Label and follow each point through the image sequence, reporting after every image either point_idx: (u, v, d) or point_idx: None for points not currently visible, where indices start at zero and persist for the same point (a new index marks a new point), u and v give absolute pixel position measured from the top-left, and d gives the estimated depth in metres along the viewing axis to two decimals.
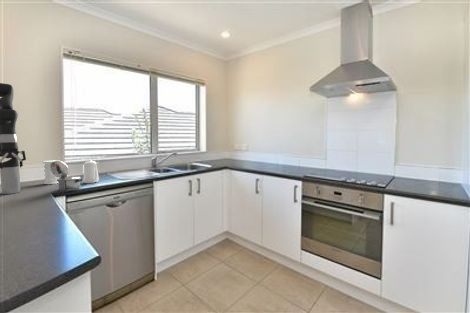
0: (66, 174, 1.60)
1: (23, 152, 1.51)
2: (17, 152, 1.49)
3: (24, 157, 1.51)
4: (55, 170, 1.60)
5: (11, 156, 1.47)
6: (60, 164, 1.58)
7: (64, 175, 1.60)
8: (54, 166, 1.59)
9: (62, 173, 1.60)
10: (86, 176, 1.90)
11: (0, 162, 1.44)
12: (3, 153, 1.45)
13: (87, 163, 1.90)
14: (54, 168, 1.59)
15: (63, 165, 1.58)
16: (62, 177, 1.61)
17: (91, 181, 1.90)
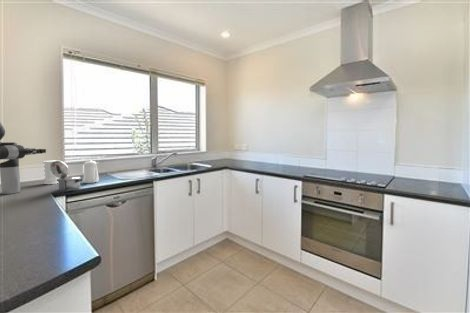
0: (66, 174, 1.60)
1: (34, 153, 1.35)
2: (29, 153, 1.35)
3: (39, 153, 1.38)
4: (55, 170, 1.60)
5: None
6: (60, 164, 1.58)
7: (64, 175, 1.60)
8: (54, 166, 1.59)
9: (62, 173, 1.60)
10: (86, 176, 1.90)
11: None
12: None
13: (87, 163, 1.90)
14: (54, 168, 1.59)
15: (63, 165, 1.58)
16: (62, 177, 1.61)
17: (91, 181, 1.90)
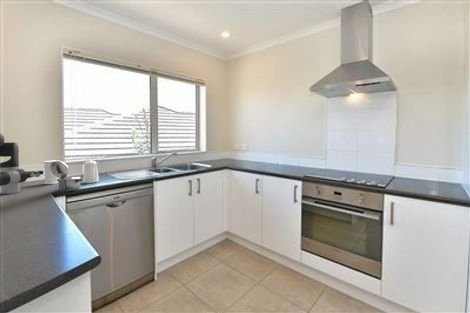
0: (66, 174, 1.60)
1: (37, 176, 1.38)
2: (33, 176, 1.37)
3: (38, 175, 1.41)
4: (55, 170, 1.60)
5: None
6: (60, 164, 1.58)
7: (64, 175, 1.60)
8: (54, 166, 1.59)
9: (62, 173, 1.60)
10: (86, 176, 1.90)
11: None
12: None
13: (87, 163, 1.90)
14: (54, 168, 1.59)
15: (63, 165, 1.58)
16: (62, 177, 1.61)
17: (91, 181, 1.90)
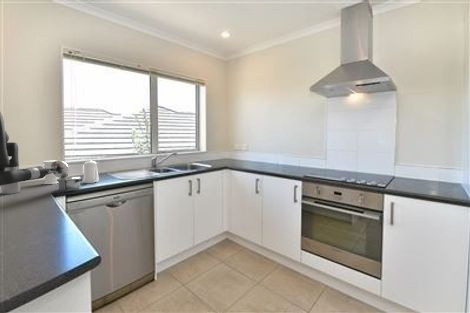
0: (66, 174, 1.60)
1: (54, 173, 1.50)
2: None
3: (55, 172, 1.52)
4: None
5: None
6: (61, 164, 1.58)
7: (64, 175, 1.61)
8: (55, 166, 1.59)
9: (62, 173, 1.60)
10: (86, 176, 1.90)
11: None
12: None
13: (87, 163, 1.90)
14: None
15: (64, 165, 1.58)
16: (62, 177, 1.61)
17: (91, 181, 1.90)
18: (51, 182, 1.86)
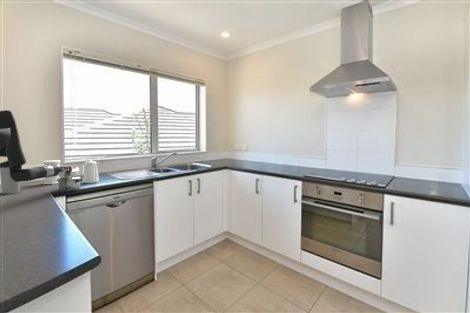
0: (71, 175, 1.64)
1: (67, 171, 1.59)
2: None
3: (67, 170, 1.62)
4: (64, 172, 1.67)
5: None
6: (74, 168, 1.70)
7: (67, 175, 1.63)
8: None
9: (68, 174, 1.65)
10: (86, 176, 1.90)
11: (64, 170, 1.64)
12: None
13: (87, 163, 1.90)
14: (65, 171, 1.68)
15: (76, 169, 1.69)
16: (64, 177, 1.63)
17: (91, 181, 1.90)
18: (51, 182, 1.86)
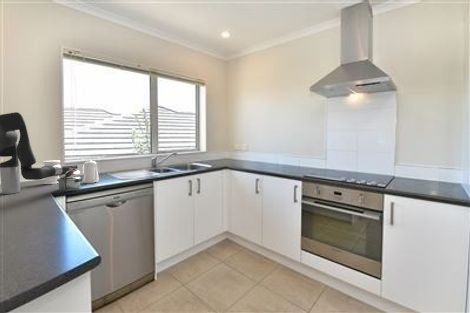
0: (71, 175, 1.64)
1: None
2: None
3: (74, 169, 1.68)
4: (65, 173, 1.68)
5: None
6: (76, 171, 1.71)
7: (68, 176, 1.64)
8: (68, 172, 1.70)
9: (68, 175, 1.65)
10: (86, 176, 1.90)
11: (71, 169, 1.70)
12: None
13: (87, 163, 1.90)
14: (66, 173, 1.69)
15: (77, 171, 1.70)
16: (64, 177, 1.63)
17: (91, 181, 1.90)
18: (51, 182, 1.86)
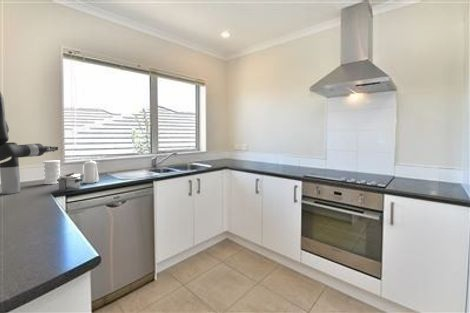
0: (71, 176, 1.65)
1: (53, 151, 1.49)
2: (49, 151, 1.48)
3: None
4: (65, 175, 1.68)
5: None
6: (76, 174, 1.72)
7: (68, 177, 1.64)
8: None
9: (69, 176, 1.66)
10: (86, 176, 1.90)
11: (51, 150, 1.53)
12: None
13: (87, 163, 1.90)
14: (66, 175, 1.70)
15: (78, 174, 1.71)
16: (64, 177, 1.63)
17: (91, 181, 1.90)
18: (51, 182, 1.86)
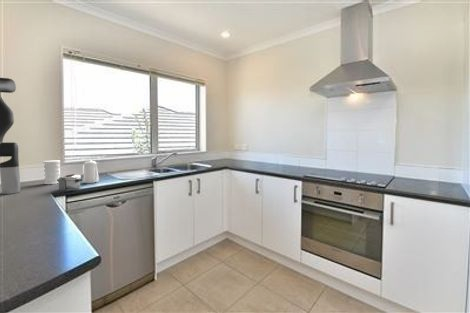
0: (72, 177, 1.65)
1: None
2: None
3: None
4: (65, 176, 1.68)
5: None
6: (77, 175, 1.72)
7: (68, 177, 1.64)
8: None
9: (69, 176, 1.66)
10: (86, 176, 1.90)
11: None
12: None
13: (87, 163, 1.90)
14: None
15: (78, 175, 1.71)
16: (64, 177, 1.63)
17: (91, 181, 1.90)
18: (51, 182, 1.86)
